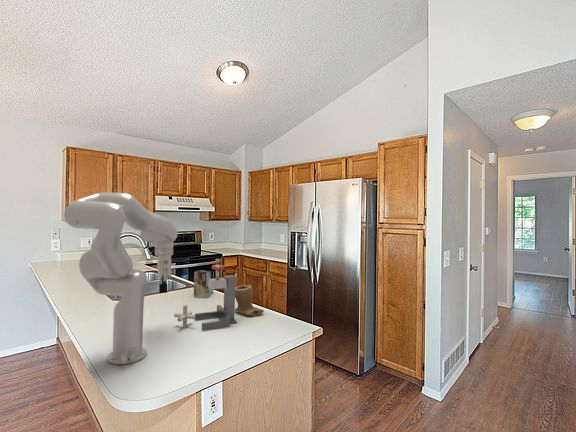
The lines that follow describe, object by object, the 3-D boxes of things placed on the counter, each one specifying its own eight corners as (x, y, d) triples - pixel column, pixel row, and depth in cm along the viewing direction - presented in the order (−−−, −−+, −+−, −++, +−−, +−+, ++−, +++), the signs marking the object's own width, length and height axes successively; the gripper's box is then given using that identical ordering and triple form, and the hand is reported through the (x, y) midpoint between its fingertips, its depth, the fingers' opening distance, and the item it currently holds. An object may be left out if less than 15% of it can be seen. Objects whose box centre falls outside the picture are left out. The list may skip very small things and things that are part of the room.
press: (239, 325, 146) (240, 279, 146) (202, 330, 138) (204, 281, 138) (228, 315, 161) (229, 273, 161) (194, 319, 152) (195, 275, 152)
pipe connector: (189, 332, 136) (189, 309, 136) (168, 329, 138) (169, 307, 138) (199, 324, 146) (200, 303, 146) (180, 322, 148) (181, 301, 148)
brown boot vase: (228, 312, 165) (229, 284, 165) (245, 308, 174) (246, 281, 174) (247, 320, 154) (248, 290, 155) (264, 314, 163) (265, 286, 163)
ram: (226, 293, 149) (227, 266, 149) (211, 295, 145) (211, 267, 145) (222, 290, 154) (223, 264, 154) (207, 292, 150) (208, 265, 150)
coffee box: (211, 296, 197) (212, 271, 197) (205, 298, 191) (206, 272, 191) (198, 294, 200) (199, 269, 200) (193, 296, 194) (193, 271, 194)
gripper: (175, 253, 133) (174, 295, 133) (170, 249, 146) (169, 287, 146) (156, 254, 129) (155, 297, 129) (153, 249, 142) (152, 289, 143)
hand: (163, 292), depth 138 cm, fingers closed
